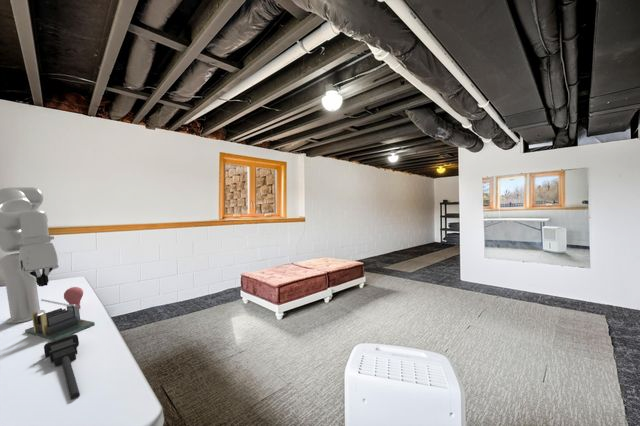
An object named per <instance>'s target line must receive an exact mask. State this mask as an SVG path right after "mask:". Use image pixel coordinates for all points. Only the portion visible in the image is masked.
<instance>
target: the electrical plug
mask: <svg viewBox="0 0 640 426" xmlns="http://www.w3.org/2000/svg"><path fill="white" fill-rule="evenodd" d="M79 345H80V341H79V337H78V334H76V333H74V334H71V335H69V336H66V337H64V338H61V339H57V340H50V341H48V342H46V343H45V344H44V346H43V350H44V351H43V352H44V356H45V358H49V360H50V363H53V364H54V367H58V366H61V365H62V367H63V372H64V375H65V381H66V386H67V389H68V393H69V398H70V400H71V401H72V400H75V399H77V398H79V397H80V396H81V395H80V390H79V385H78V383H77V379H76V375H75V373H74V369H73V366H72V362H71V361H74V360H76V359H77V354H78V347H79ZM77 346H78V347H77Z"/></svg>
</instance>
